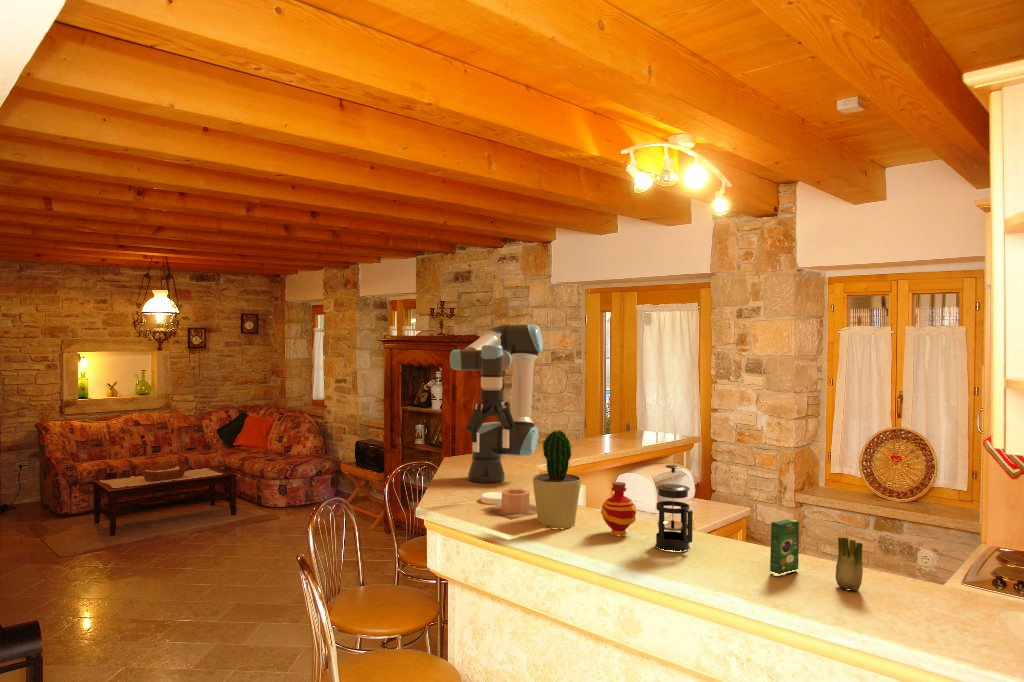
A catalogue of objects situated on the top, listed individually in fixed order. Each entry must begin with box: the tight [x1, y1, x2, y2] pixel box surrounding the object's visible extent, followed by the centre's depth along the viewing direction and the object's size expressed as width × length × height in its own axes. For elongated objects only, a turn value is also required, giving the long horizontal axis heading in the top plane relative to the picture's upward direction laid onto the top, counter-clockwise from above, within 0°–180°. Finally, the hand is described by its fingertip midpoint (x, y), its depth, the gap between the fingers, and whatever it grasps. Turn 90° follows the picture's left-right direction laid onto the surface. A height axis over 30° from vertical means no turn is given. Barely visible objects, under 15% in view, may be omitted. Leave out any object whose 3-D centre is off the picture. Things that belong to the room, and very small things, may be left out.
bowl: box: [501, 488, 530, 514], centre depth 225 cm, size 9×9×6 cm
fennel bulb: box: [835, 536, 864, 591], centre depth 159 cm, size 6×5×12 cm
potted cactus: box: [532, 429, 582, 530], centre depth 213 cm, size 15×15×30 cm
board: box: [479, 503, 537, 520], centre depth 225 cm, size 18×16×1 cm
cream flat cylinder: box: [480, 491, 502, 505], centre depth 238 cm, size 10×10×4 cm
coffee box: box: [769, 518, 800, 574], centre depth 170 cm, size 8×3×13 cm, turn 122°
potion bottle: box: [600, 481, 637, 536], centre depth 203 cm, size 10×10×15 cm
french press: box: [655, 464, 694, 551], centre depth 190 cm, size 12×9×23 cm
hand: (491, 449), depth 238 cm, fingers open, 13 cm apart
